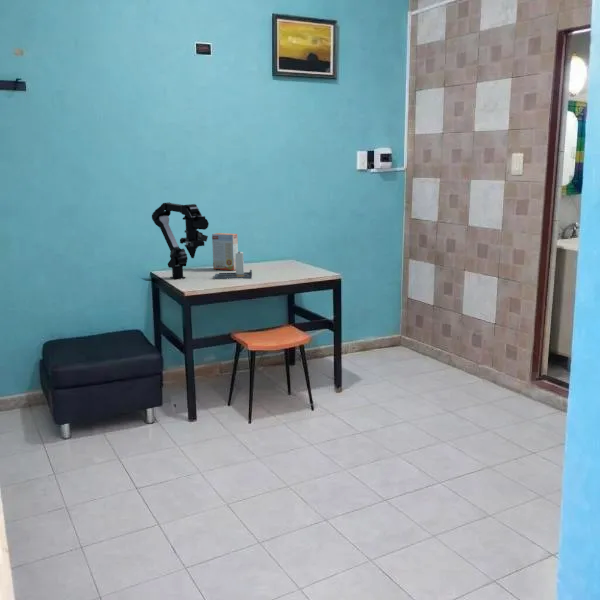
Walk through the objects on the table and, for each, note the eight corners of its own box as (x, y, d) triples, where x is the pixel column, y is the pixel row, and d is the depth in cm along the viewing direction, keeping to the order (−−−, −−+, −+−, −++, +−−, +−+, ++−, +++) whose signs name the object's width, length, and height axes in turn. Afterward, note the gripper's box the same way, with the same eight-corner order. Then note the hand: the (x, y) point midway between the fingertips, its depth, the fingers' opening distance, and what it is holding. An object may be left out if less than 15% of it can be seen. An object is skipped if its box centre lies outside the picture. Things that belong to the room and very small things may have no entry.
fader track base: (214, 279, 348) (213, 273, 347) (215, 275, 357) (215, 270, 357) (251, 278, 349) (251, 272, 348) (252, 275, 358) (251, 269, 358)
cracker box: (239, 269, 378) (238, 233, 373) (233, 271, 372) (232, 234, 368) (218, 267, 383) (217, 232, 379) (213, 269, 378) (211, 233, 374)
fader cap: (236, 275, 351) (235, 252, 348) (236, 273, 355) (235, 251, 352) (243, 275, 351) (242, 252, 348) (243, 273, 355) (243, 250, 353)
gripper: (213, 229, 335) (214, 258, 338) (198, 226, 350) (199, 254, 353) (193, 230, 329) (194, 261, 332) (178, 227, 344) (180, 256, 347)
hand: (192, 258), depth 341 cm, fingers closed
